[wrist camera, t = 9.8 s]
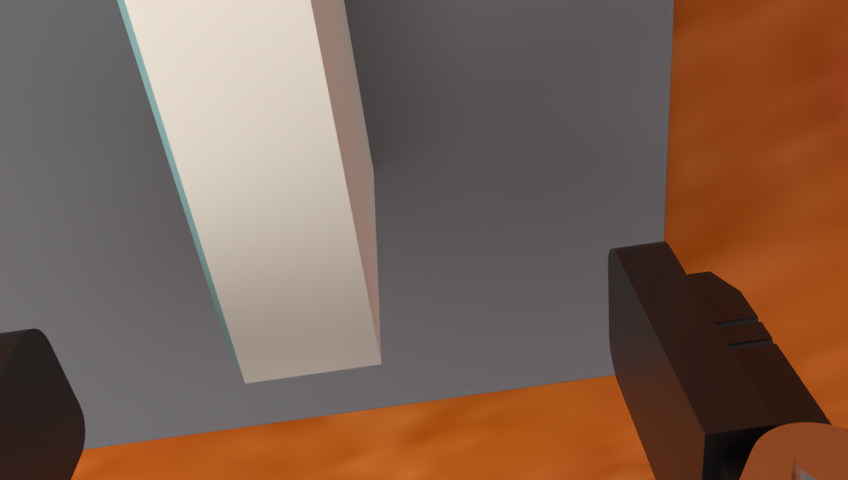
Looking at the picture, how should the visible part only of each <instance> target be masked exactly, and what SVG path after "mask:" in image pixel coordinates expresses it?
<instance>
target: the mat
mask: <svg viewBox="0 0 848 480" xmlns="http://www.w3.org/2000/svg"><path fill="white" fill-rule="evenodd" d="M344 3H345V9H346V15H347V21H348V26H349V32H350V38H351V44H352V50H353V55H354V61H355V67H356V73H357V78H358V84H359V90H360V96H361V102H362V107H363V113H364V119H365V125H366V130H367V136H368V142H369V148H370V154H371V159H372V165H373V171H374V194H375V218H376V243H377V268H378V292H379V317H380V342H381V364H380V365H373V366H366V367H359V368H352V369H345V370H338V371H330V372H323V373H316V374H309V375H302V376H295V377H288V378H281V379H274V380H267V381H260V382H253V383H246V384H245V382H244V379H243V376H242V372H241V369H240V367H234V365H233V362H232V358H231V355H230V352H229V349H228V346H227V343H226V340H225V337H224V333H223V330H222V327H221V324H220V321H219V318H218V315H217V312H216V308H215V305H214V302H213V299H212V296H211V293H210V290H209V287H208V283H207V280H206V277H205V274H204V271H203V268H202V265H201V262H200V258H199V255H198V252H197V249H196V246H195V243H194V240H193V236H192V233H191V230H190V227H189V224H188V221H187V218H186V215H185V211H184V208H183V205H182V202H181V199H180V196H179V193H178V190H177V186H176V183H175V180H174V177H173V174H172V171H171V168H170V165H169V161H168V158H167V155H166V152H165V149H164V146H163V143H162V140H161V136H160V133H159V130H158V127H157V124H156V121H155V118H154V114H153V111H152V108H151V105H150V102H149V99H148V96H147V93H146V89H145V86H144V83H143V80H142V77H141V74H140V71H139V68H138V64H137V61H136V58H135V55H134V52H133V49H132V46H131V43H130V39H129V36H128V33H127V30H126V27H125V24H124V21H123V18H122V14H121V11H120V8H119V5H118V2H117V0H0V333H4V332H11V331H18V330H25V329H33V328H35V329H38V330H40V331H42V332H43V333H44V334H45V335H46V337H47V338H48V340H49V342H50V344H51V346H52V348H53V350H54V352H55V354H56V356H57V358H58V361H59V363H60V365H61V367H62V369H63V371H64V373H65V375H66V377H67V379H68V381H69V383H70V385H71V388H72V390H73V392H74V394H75V396H76V398H77V400H78V402H79V404H80V406H81V409H82V412H83V415H84V420H85V443H84V448H83V450H84V449H91V448H99V447H106V446H113V445H120V444H127V443H134V442H141V441H148V440H155V439H163V438H170V437H177V436H184V435H191V434H198V433H205V432H212V431H219V430H226V429H234V428H241V427H248V426H255V425H262V424H269V423H276V422H283V421H290V420H298V419H305V418H312V417H319V416H326V415H333V414H340V413H347V412H354V411H361V410H369V409H376V408H383V407H390V406H397V405H404V404H411V403H418V402H425V401H432V400H440V399H447V398H454V397H461V396H468V395H475V394H482V393H489V392H496V391H504V390H511V389H518V388H525V387H532V386H539V385H546V384H553V383H560V382H567V381H575V380H582V379H589V378H596V377H603V376H610V375H615V371H614V367H613V363H612V357H611V351H610V342H609V300H608V256H609V251H610V250H611V249H613V248H620V247H627V246H634V245H641V244H648V243H655V242H662V241H664V225H665V201H666V177H667V154H668V130H669V106H670V82H671V59H672V35H673V11H674V0H344Z"/></svg>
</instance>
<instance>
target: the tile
mask: <svg viewBox="0 0 848 480" xmlns="http://www.w3.org/2000/svg"><path fill="white" fill-rule="evenodd" d="M117 2H118V5H119V8H120V11H121V14H122V18H123V21H124V24H125V27H126V30H127V33H128V36H129V39H130V43H131V46H132V49H133V52H134V55H135V58H136V61H137V64H138V68H139V71H140V74H141V77H142V80H143V83H144V86H145V89H146V93H147V96H148V99H149V102H150V105H151V108H152V111H153V114H154V118H155V121H156V124H157V127H158V130H159V133H160V136H161V140H162V143H163V146H164V149H165V152H166V155H167V158H168V161H169V165H170V168H171V171H172V174H173V177H174V180H175V183H176V186H177V190H178V193H179V196H180V199H181V202H182V205H183V208H184V211H185V215H186V218H187V221H188V224H189V227H190V230H191V233H192V236H193V240H194V243H195V246H196V249H197V252H198V255H199V258H200V262H201V265H202V268H203V271H204V274H205V277H206V280H207V283H208V287H209V290H210V293H211V296H212V299H213V302H214V305H215V308H216V312H217V315H218V318H219V321H220V324H221V327H222V330H223V333H224V337H225V340H226V343H227V346H228V349H229V352H230V355H231V358H232V362H233V365H234V367H240V369H241V372H242V376H243V379H244V382H245V384H246V383H253V382H260V381H267V380H274V379H281V378H288V377H295V376H302V375H309V374H316V373H323V372H330V371H338V370H345V369H352V368H359V367H366V366H373V365H380V364H381V342H380V317H379V292H378V268H377V243H376V218H375V194H374V171H373V165H372V159H371V154H370V148H369V142H368V136H367V130H366V125H365V119H364V113H363V107H362V102H361V96H360V90H359V84H358V78H357V73H356V67H355V61H354V55H353V50H352V44H351V38H350V32H349V26H348V21H347V15H346V9H345V3H344V0H117Z"/></svg>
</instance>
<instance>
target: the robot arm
mask: <svg viewBox="0 0 848 480" xmlns="http://www.w3.org/2000/svg"><path fill="white" fill-rule="evenodd" d="M608 300H609V342H610V351H611V357H612V363H613V367H614V371H615V375H616V378H617V381H618V384H619V386H620V389H621V391H622V394H623V397H624V399H625V402H626V404H627V407H628V409H629V412H630V414H631V417H632V420H633V422H634V425H635V427H636V430H637V432H638V435H639V438H640V440H641V443H642V445H643V448H644V450H645V453H646V456H647V458H648V461H649V463H650V466H651V468H652V471H653V473H654V476H655V479H656V480H848V430H846V429H843V428H840V427H837V426H832V425H831V423H830V422H829V420H828V419H827V417H826V416H825V414H824V413H823V411H822V410H821V409H820V407H819V406H818V404H817V403H816V401H815V400H814V398H813V397H812V395H811V394H810V393H809V391H808V390H807V388H806V387H805V385H804V384H803V382H802V381H801V379H800V378H799V376H798V375H797V374H796V372H795V371H794V369H793V368H792V366H791V365H790V363H789V362H788V360H787V359H786V357H785V356H784V355H783V353H782V352H781V350H780V349H779V347H778V346H777V344H773V341H772V337H771V336H770V334H769V333H768V331H767V330H766V328H765V327H764V325H763V324H762V322H758V317H757V315H756V314H755V312H754V311H753V309H752V308H751V306H750V305H749V303H748V302H747V301H746V299H745V298H744V296H743V295H742V293H741V292H740V291H739V290H737V289H736V288H734V287H733V286H731V285H730V284H728V283H727V282H725V281H724V280H722V279H721V278H719V277H717V276H716V275H714V274H713V273H711V272H703V273H695V274H688V275H686V273H685V271H684V270H683V268H682V266H681V265H680V263H679V261H678V260H677V258H676V256H675V255H674V253H673V251H672V250H671V248H670V247H669V245H668V244H667V243H666V242H664V241H662V242H655V243H648V244H641V245H634V246H627V247H620V248H613V249H611V250H610V251H609V256H608ZM84 443H85V420H84V415H83V412H82V409H81V406H80V404H79V402H78V400H77V398H76V396H75V394H74V392H73V390H72V388H71V385H70V383H69V381H68V379H67V377H66V375H65V373H64V371H63V369H62V367H61V365H60V363H59V361H58V358H57V356H56V354H55V352H54V350H53V348H52V346H51V344H50V342H49V340H48V338H47V337H46V335H45V334H44V333H43V332H42V331H40V330H38V329H35V328H33V329H25V330H18V331H11V332H4V333H0V480H71V478H72V476H73V473H74V471H75V468H76V466H77V464H78V461H79V459H80V457H81V454H82V451H83V448H84Z"/></svg>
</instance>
